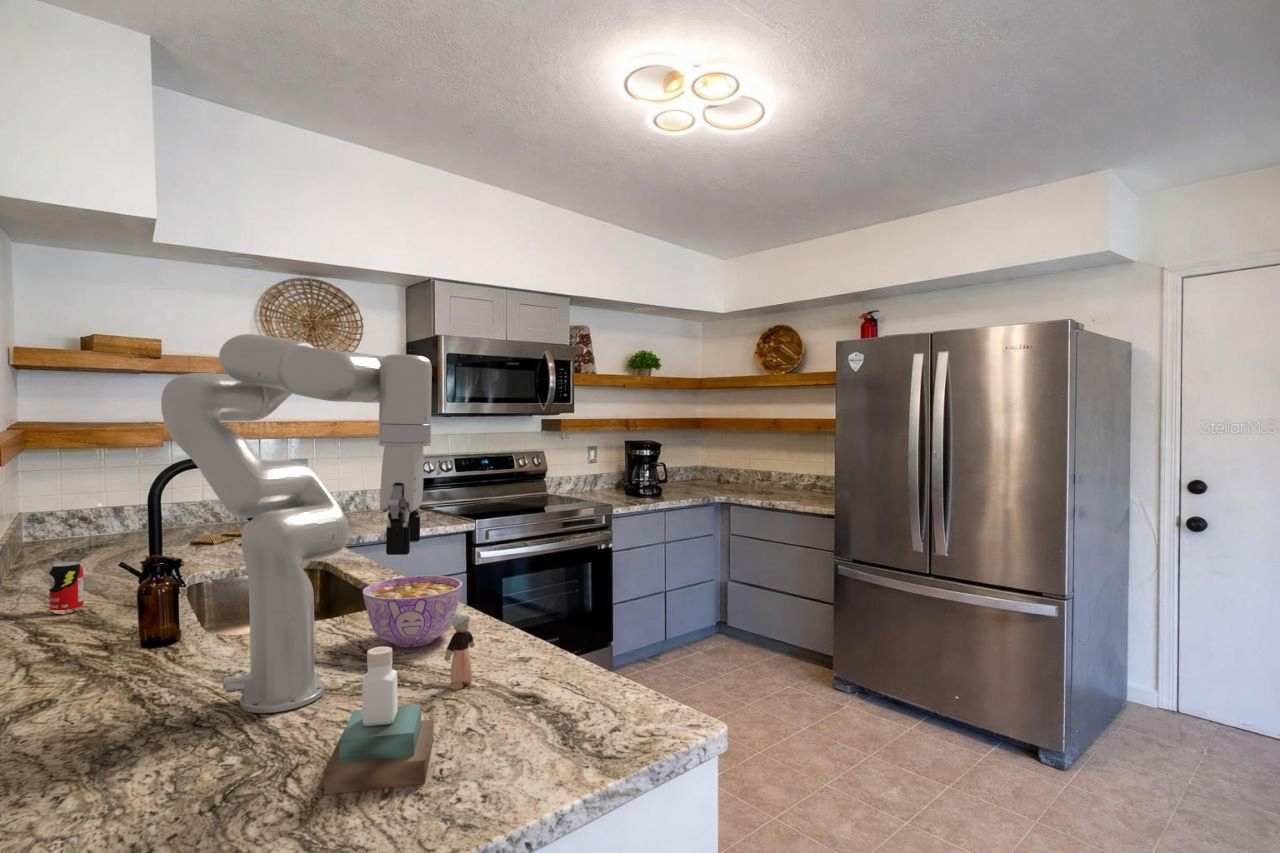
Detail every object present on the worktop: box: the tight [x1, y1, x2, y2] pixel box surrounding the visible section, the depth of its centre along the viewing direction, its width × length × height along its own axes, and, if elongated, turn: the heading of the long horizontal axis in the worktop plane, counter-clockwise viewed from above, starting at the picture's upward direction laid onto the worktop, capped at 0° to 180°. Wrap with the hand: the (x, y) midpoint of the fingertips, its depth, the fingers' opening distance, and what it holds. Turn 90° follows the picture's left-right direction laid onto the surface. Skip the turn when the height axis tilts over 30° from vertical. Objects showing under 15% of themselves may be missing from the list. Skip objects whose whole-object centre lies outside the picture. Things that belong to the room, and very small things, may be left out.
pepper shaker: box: [361, 646, 399, 726], centre depth 91 cm, size 4×4×10 cm
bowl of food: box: [362, 575, 463, 648], centre depth 143 cm, size 20×20×12 cm
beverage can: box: [48, 560, 84, 611], centre depth 166 cm, size 6×6×12 cm
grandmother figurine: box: [443, 611, 476, 690], centre depth 119 cm, size 8×4×13 cm, turn 168°
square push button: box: [323, 703, 434, 795], centre depth 91 cm, size 12×12×6 cm
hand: (403, 547), depth 104 cm, fingers open, 9 cm apart
